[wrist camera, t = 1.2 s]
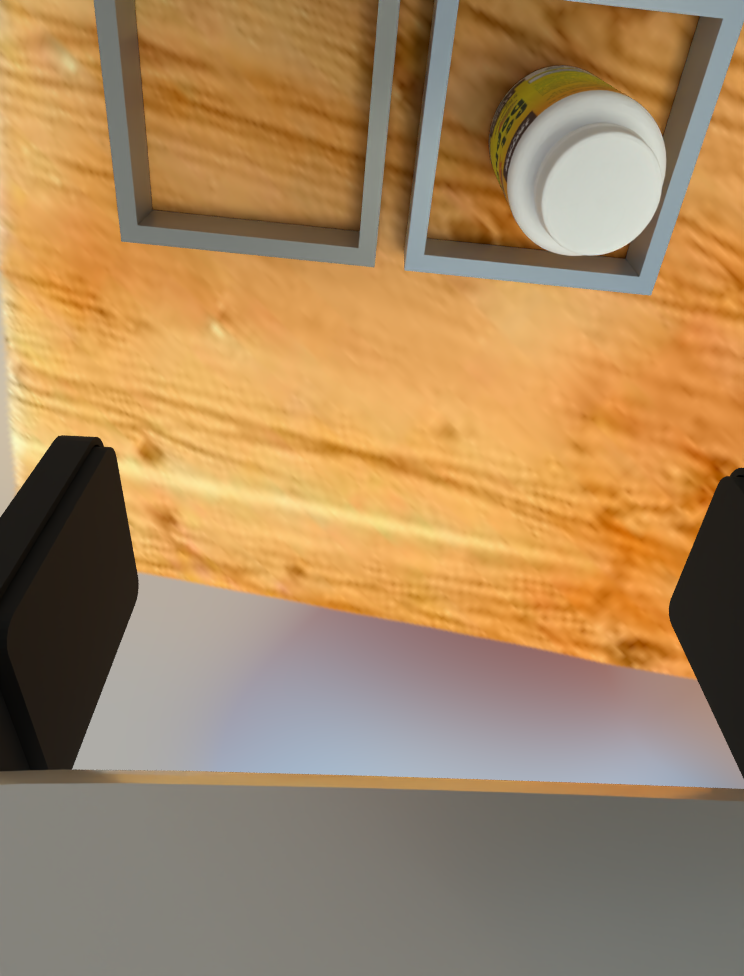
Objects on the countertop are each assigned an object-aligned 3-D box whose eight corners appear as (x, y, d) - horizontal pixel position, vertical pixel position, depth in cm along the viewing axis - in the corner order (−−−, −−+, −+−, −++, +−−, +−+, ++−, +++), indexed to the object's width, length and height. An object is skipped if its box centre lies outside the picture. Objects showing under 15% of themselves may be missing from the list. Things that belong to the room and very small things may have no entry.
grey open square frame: (107, -80, 28) (84, -83, 26) (404, -45, 28) (404, -46, 26) (137, 225, 34) (121, 241, 32) (375, 249, 35) (374, 267, 33)
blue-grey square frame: (439, -41, 28) (442, -41, 26) (727, -7, 28) (752, -5, 26) (403, 252, 35) (404, 270, 33) (636, 276, 35) (650, 295, 33)
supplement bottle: (493, 62, 30) (529, 99, 22) (625, 64, 30) (712, 103, 22) (480, 200, 33) (507, 277, 25) (599, 202, 33) (665, 281, 25)
